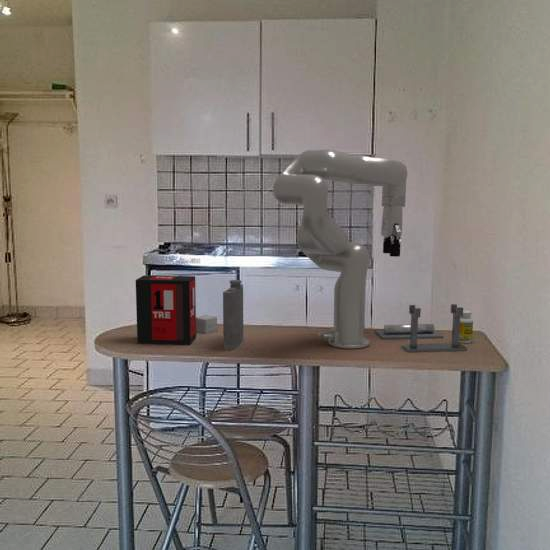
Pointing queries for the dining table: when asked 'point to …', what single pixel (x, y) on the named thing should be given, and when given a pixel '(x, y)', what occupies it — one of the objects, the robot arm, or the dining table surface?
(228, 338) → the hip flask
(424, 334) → the slate mat
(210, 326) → the small box
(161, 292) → the cleaning product box
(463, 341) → the supplement bottle
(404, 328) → the grey metallic bar
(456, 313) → the hook stand
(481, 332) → the dining table surface
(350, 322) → the robot arm
